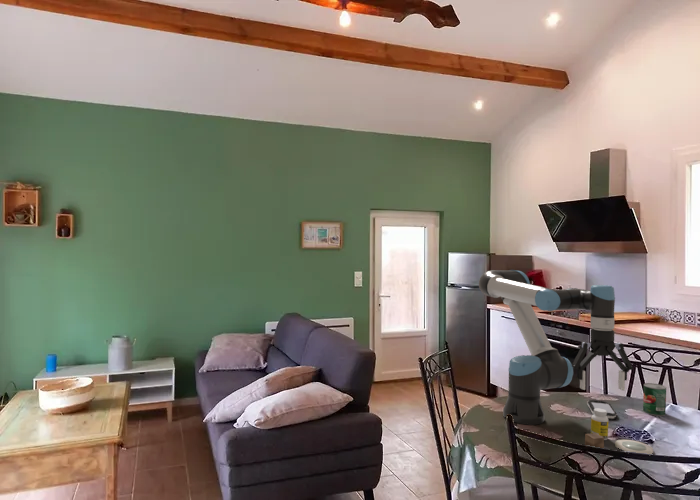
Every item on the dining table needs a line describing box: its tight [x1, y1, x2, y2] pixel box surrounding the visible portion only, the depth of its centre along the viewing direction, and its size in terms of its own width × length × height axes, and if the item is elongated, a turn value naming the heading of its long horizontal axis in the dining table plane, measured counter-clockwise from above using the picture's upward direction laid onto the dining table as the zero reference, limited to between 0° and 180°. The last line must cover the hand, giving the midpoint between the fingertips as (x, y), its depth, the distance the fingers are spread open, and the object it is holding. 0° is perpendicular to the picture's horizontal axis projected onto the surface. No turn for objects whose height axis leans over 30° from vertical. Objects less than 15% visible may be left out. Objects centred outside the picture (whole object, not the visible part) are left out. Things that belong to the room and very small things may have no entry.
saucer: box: [614, 439, 654, 455], centre depth 164 cm, size 11×11×1 cm
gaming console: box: [586, 399, 618, 420], centre depth 200 cm, size 19×9×2 cm, turn 163°
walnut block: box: [584, 432, 605, 449], centre depth 164 cm, size 4×4×4 cm
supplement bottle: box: [590, 408, 609, 441], centre depth 172 cm, size 5×5×10 cm
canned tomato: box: [642, 382, 667, 417], centre depth 200 cm, size 8×8×11 cm
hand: (601, 389), depth 174 cm, fingers open, 13 cm apart
